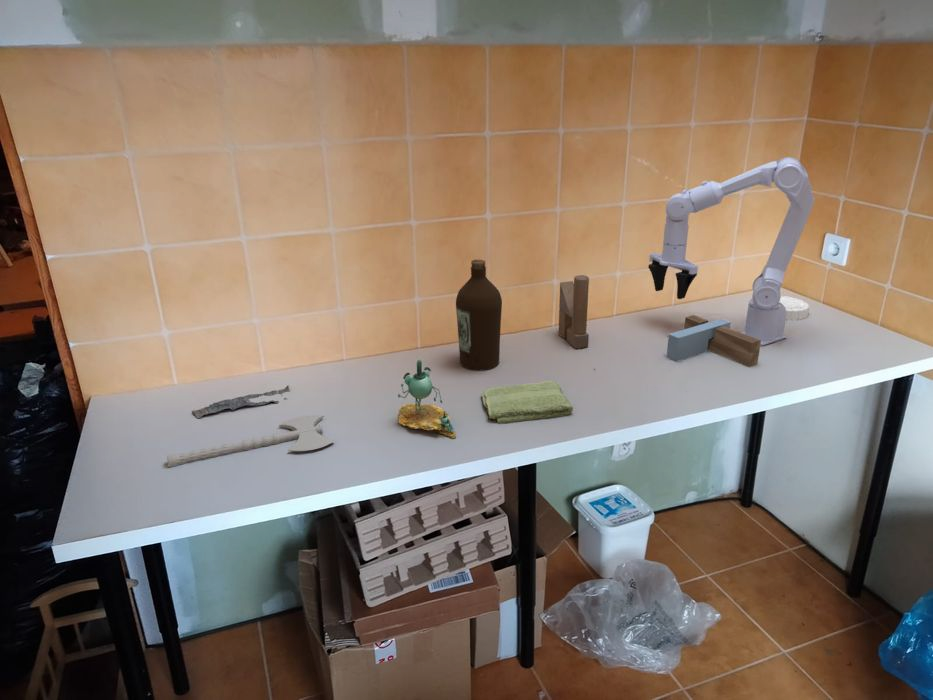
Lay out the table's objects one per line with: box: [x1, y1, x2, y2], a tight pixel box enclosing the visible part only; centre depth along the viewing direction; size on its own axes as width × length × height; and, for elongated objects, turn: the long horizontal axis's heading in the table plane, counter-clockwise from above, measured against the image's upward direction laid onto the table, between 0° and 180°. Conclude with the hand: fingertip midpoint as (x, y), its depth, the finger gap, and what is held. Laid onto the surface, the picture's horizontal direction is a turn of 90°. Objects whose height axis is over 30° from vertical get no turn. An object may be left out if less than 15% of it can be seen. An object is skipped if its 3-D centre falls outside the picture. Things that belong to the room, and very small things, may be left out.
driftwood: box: [192, 385, 291, 419], centre depth 151 cm, size 21×7×2 cm, turn 113°
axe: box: [166, 414, 336, 468], centre depth 134 cm, size 30×14×2 cm, turn 113°
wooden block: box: [558, 274, 590, 350], centre depth 176 cm, size 4×11×18 cm, turn 17°
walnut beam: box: [683, 314, 761, 368], centre depth 171 cm, size 3×20×6 cm, turn 32°
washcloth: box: [481, 380, 574, 424], centre depth 147 cm, size 13×18×3 cm
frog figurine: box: [397, 359, 457, 439], centre depth 140 cm, size 10×18×15 cm, turn 29°
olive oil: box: [455, 259, 503, 371], centre depth 163 cm, size 11×11×25 cm
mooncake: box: [779, 295, 810, 321], centre depth 195 cm, size 12×12×4 cm
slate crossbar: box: [666, 318, 731, 362], centre depth 171 cm, size 18×3×6 cm, turn 122°
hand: (669, 294), depth 183 cm, fingers open, 7 cm apart
